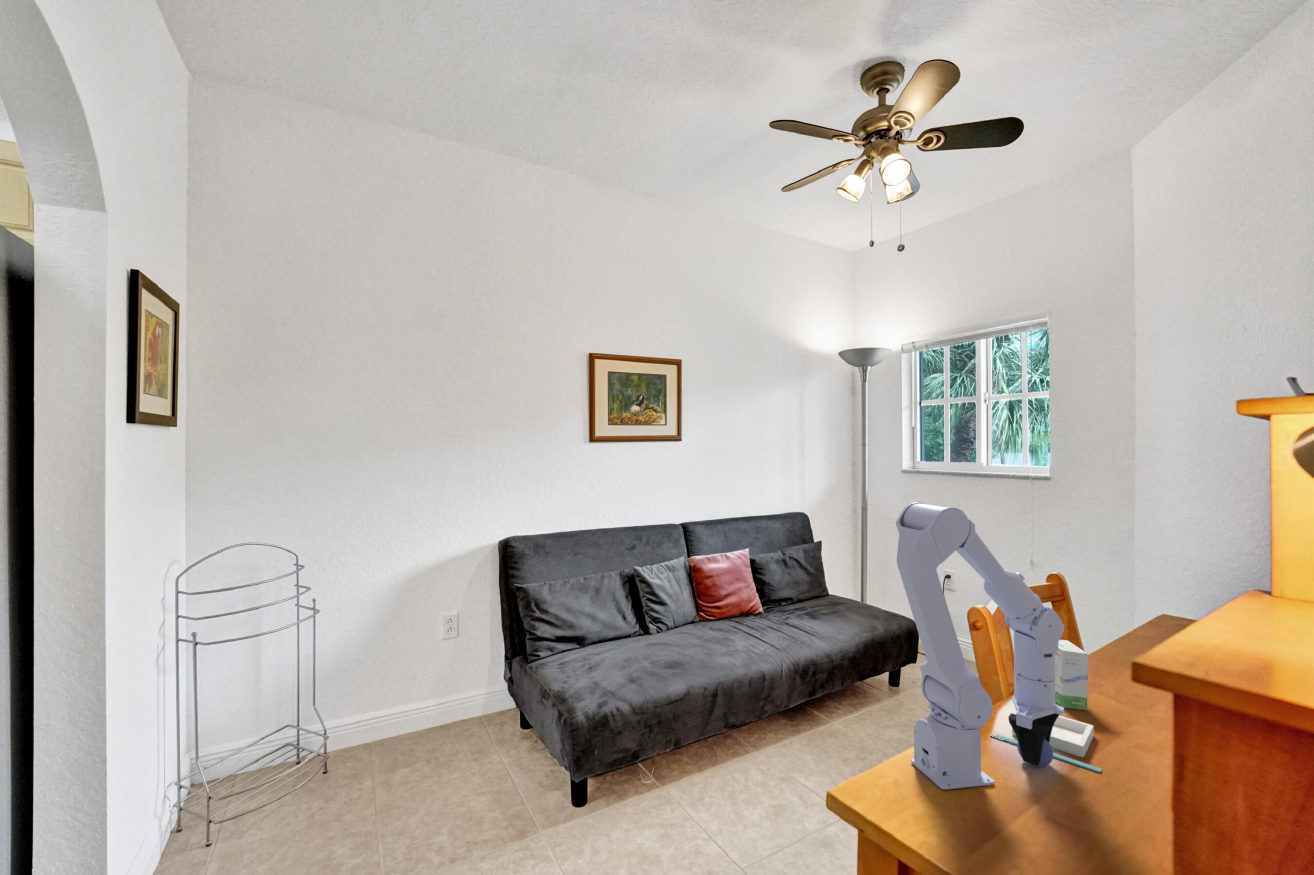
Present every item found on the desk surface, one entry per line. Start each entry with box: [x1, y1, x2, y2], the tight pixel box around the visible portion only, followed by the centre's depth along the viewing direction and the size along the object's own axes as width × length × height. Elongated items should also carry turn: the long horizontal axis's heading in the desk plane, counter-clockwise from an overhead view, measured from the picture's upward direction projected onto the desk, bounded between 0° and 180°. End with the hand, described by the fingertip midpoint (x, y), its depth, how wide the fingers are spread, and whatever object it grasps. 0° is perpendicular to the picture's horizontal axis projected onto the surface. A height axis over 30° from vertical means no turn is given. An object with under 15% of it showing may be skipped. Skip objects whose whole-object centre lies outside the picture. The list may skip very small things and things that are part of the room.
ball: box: [1016, 740, 1054, 768], centre depth 93 cm, size 5×5×5 cm
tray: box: [1011, 715, 1095, 759], centre depth 102 cm, size 11×11×2 cm
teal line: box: [992, 734, 1102, 774], centre depth 96 cm, size 16×1×1 cm, turn 44°
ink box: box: [1055, 639, 1089, 711], centre depth 117 cm, size 9×5×12 cm, turn 168°
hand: (1034, 756), depth 93 cm, fingers closed on ball, 5 cm apart
